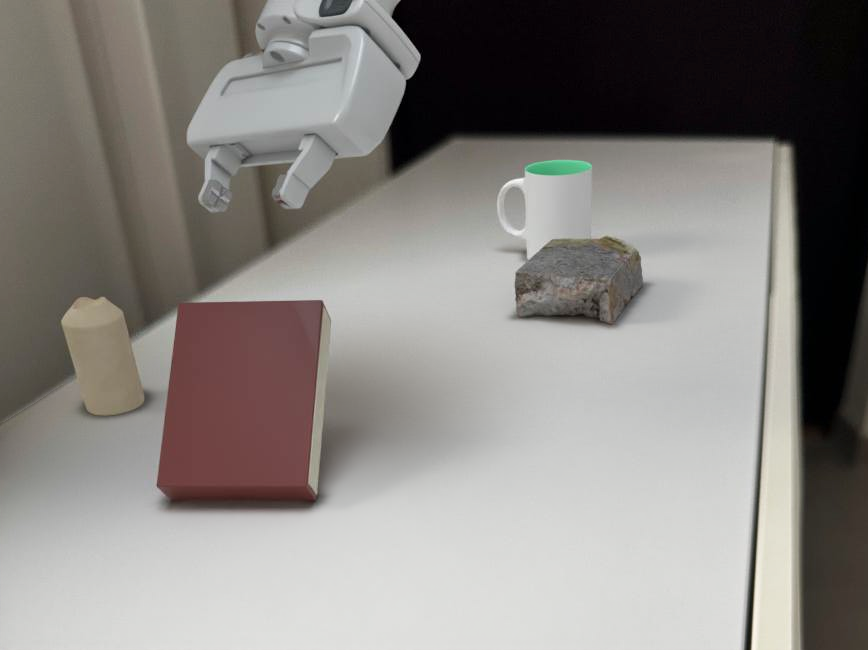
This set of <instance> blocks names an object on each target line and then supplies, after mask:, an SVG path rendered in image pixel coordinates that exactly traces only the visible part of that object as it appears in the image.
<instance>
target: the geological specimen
mask: <svg viewBox="0 0 868 650" xmlns="http://www.w3.org/2000/svg"><path fill="white" fill-rule="evenodd" d="M643 284H644V277H643V268H642V256H641V254H640V251H639V250H638V249H637V248H636V247H635V246H634V244H632V243H630V242H628V241H625V240H623V239H621V238H618V237H612V236H608V235H605V236H602V237H599V238H598V237H597V238H592V237H591V238H587V239H573V238H569V239H568V238H562V239H552V240H551V241H549V242H548V243H547V244H546V245H545V246H544V247H542V248H541V249H540V250H539V252H537V253H536V254H535V255H534V256H533V257H532V258H530V259H529V260H528V259H527V261H526V262H525V263H524V264H522V265H521V266H520V267H519V268H518V269H517V270H516V271H515V278H514V290H515V291H514V292H515V299H514V300H515V310H516V313H517V317H519V318H528V317H536V316H545V317H551V316H568V315H569V316H572V317H574V316H578V315H581V314H582V315H584V316H585V317H586V318H590V319H591V318H592V319H594V318H597V319H599V320H600V322H603V323H606V324H608V325H614V323H615V321H617V319H618V317H619V316H620V315H621V314H622V312H623V310H624V309H625V307H626V306H628V304H629V303H630V301H631V298H634V296H636V294H637V293H638V291H640V289H641V288H642V287H643Z"/></svg>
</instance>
